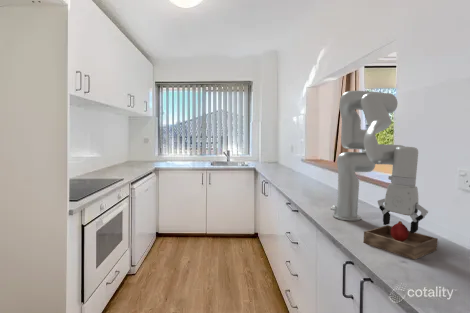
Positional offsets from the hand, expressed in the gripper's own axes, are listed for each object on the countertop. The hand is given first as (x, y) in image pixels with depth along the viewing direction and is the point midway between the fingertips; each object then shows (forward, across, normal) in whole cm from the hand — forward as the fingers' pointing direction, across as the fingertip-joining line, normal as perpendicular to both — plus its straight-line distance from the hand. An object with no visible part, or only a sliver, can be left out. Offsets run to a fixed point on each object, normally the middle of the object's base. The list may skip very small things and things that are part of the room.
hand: (399, 228), depth 111 cm
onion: (+6, 0, 0) cm, 6 cm away
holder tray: (+6, +1, 0) cm, 6 cm away
